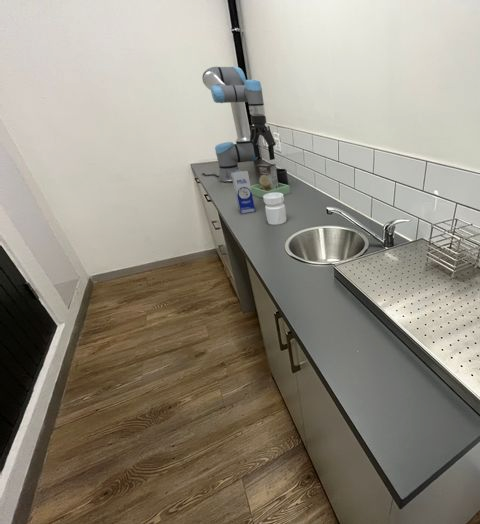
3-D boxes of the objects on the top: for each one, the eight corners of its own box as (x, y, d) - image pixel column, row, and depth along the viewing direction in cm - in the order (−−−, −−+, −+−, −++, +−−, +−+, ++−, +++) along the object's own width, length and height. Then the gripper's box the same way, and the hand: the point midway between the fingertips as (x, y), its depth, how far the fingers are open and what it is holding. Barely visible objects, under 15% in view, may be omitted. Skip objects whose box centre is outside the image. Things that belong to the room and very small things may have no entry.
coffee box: (260, 193, 170) (255, 165, 162) (266, 190, 175) (261, 162, 167) (274, 195, 167) (269, 166, 159) (279, 191, 172) (275, 163, 164)
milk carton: (240, 214, 142) (231, 172, 132) (238, 210, 148) (229, 169, 138) (255, 211, 145) (247, 170, 135) (252, 207, 150) (245, 167, 140)
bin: (250, 193, 171) (248, 186, 169) (272, 187, 181) (271, 180, 179) (268, 199, 161) (266, 191, 159) (290, 193, 171) (289, 185, 169)
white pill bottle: (277, 226, 129) (273, 199, 123) (263, 222, 133) (258, 196, 127) (290, 219, 135) (287, 194, 129) (276, 216, 139) (273, 191, 133)
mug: (286, 181, 194) (284, 167, 190) (289, 185, 185) (287, 171, 180) (271, 182, 191) (269, 168, 187) (274, 187, 182) (272, 172, 177)
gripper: (238, 115, 155) (246, 156, 166) (266, 116, 141) (273, 161, 152) (250, 114, 160) (257, 154, 171) (278, 115, 146) (284, 159, 156)
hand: (264, 158), depth 161 cm, fingers open, 13 cm apart
